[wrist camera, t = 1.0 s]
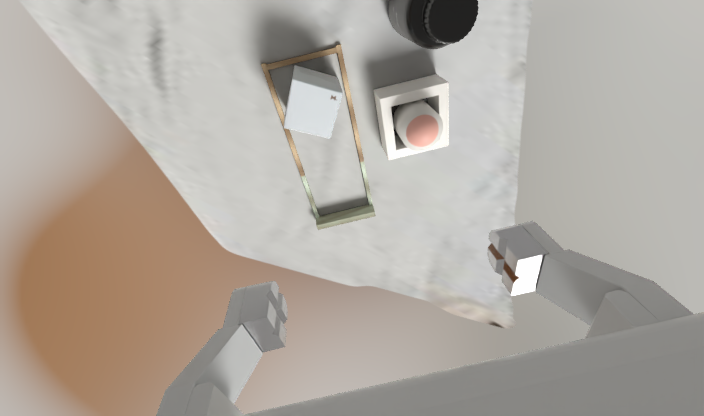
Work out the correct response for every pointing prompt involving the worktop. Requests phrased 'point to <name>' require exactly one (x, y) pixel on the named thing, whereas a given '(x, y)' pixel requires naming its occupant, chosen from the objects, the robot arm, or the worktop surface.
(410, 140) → the white pink rounded piece
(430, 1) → the supplement bottle
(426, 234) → the worktop surface
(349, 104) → the track
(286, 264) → the worktop surface
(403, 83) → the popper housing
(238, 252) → the worktop surface
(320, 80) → the product box
